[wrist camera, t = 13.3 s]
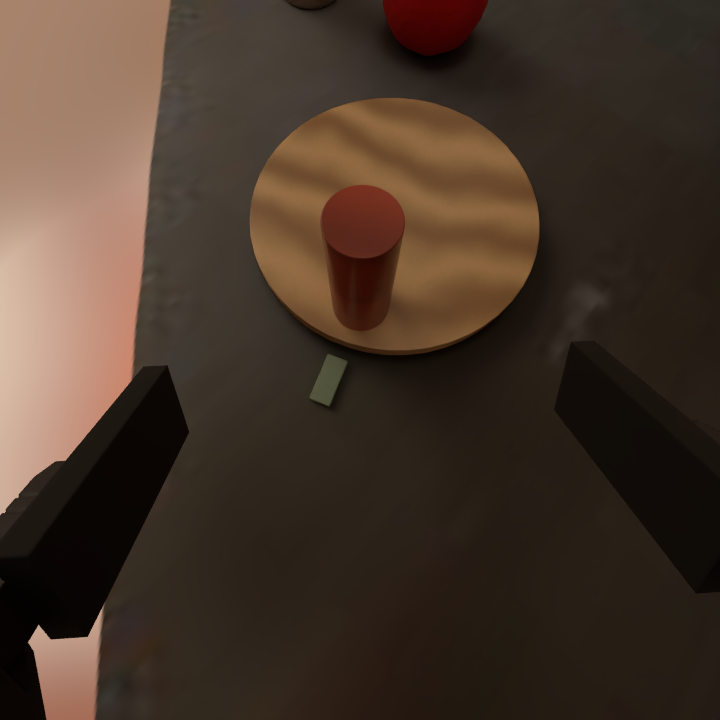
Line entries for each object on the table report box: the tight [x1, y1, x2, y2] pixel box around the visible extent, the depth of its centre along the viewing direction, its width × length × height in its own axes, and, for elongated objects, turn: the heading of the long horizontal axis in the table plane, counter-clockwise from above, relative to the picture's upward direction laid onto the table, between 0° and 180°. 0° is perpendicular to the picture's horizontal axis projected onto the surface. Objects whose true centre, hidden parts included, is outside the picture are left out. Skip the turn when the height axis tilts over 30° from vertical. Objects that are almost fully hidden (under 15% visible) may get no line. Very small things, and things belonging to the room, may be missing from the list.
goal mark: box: [309, 354, 348, 407], centre depth 29 cm, size 4×2×1 cm, turn 159°
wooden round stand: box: [250, 98, 539, 355], centre depth 26 cm, size 22×22×11 cm
